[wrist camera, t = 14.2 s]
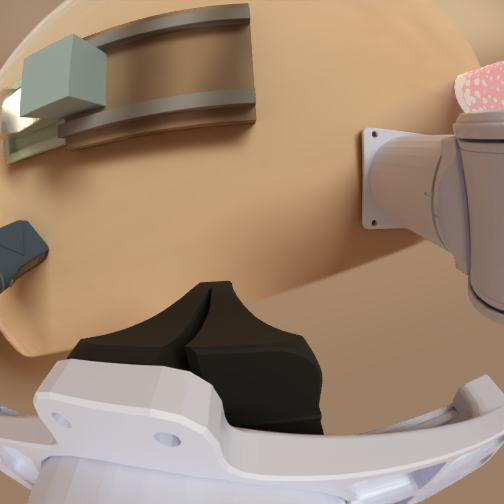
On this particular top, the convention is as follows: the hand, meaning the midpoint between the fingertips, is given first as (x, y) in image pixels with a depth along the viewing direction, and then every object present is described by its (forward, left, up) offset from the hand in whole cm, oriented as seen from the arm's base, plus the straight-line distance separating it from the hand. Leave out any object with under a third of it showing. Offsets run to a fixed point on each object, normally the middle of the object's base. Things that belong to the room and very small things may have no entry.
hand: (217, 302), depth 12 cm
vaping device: (+20, -1, -11) cm, 22 cm away
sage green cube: (+10, -13, -8) cm, 19 cm away
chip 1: (+17, -13, -8) cm, 23 cm away
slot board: (+5, -13, -10) cm, 17 cm away
